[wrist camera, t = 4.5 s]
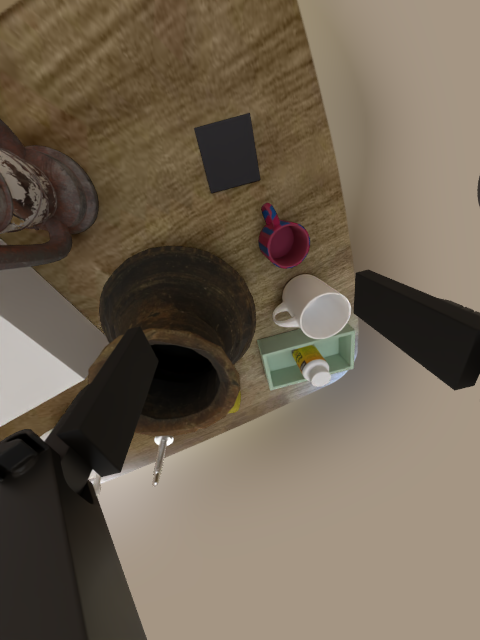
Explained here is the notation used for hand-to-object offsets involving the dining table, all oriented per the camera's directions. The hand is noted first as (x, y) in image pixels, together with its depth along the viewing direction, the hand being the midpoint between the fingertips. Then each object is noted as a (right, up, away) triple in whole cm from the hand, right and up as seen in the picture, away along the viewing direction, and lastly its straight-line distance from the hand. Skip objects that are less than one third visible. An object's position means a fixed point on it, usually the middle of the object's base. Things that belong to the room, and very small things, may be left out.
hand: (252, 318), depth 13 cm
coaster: (-2, +24, +19) cm, 31 cm away
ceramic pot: (-11, +3, +29) cm, 31 cm away
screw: (-21, -31, +46) cm, 60 cm away
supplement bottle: (+14, -7, +37) cm, 40 cm away
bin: (+14, -7, +38) cm, 41 cm away
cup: (+5, +16, +25) cm, 30 cm away
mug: (+10, +5, +31) cm, 33 cm away
